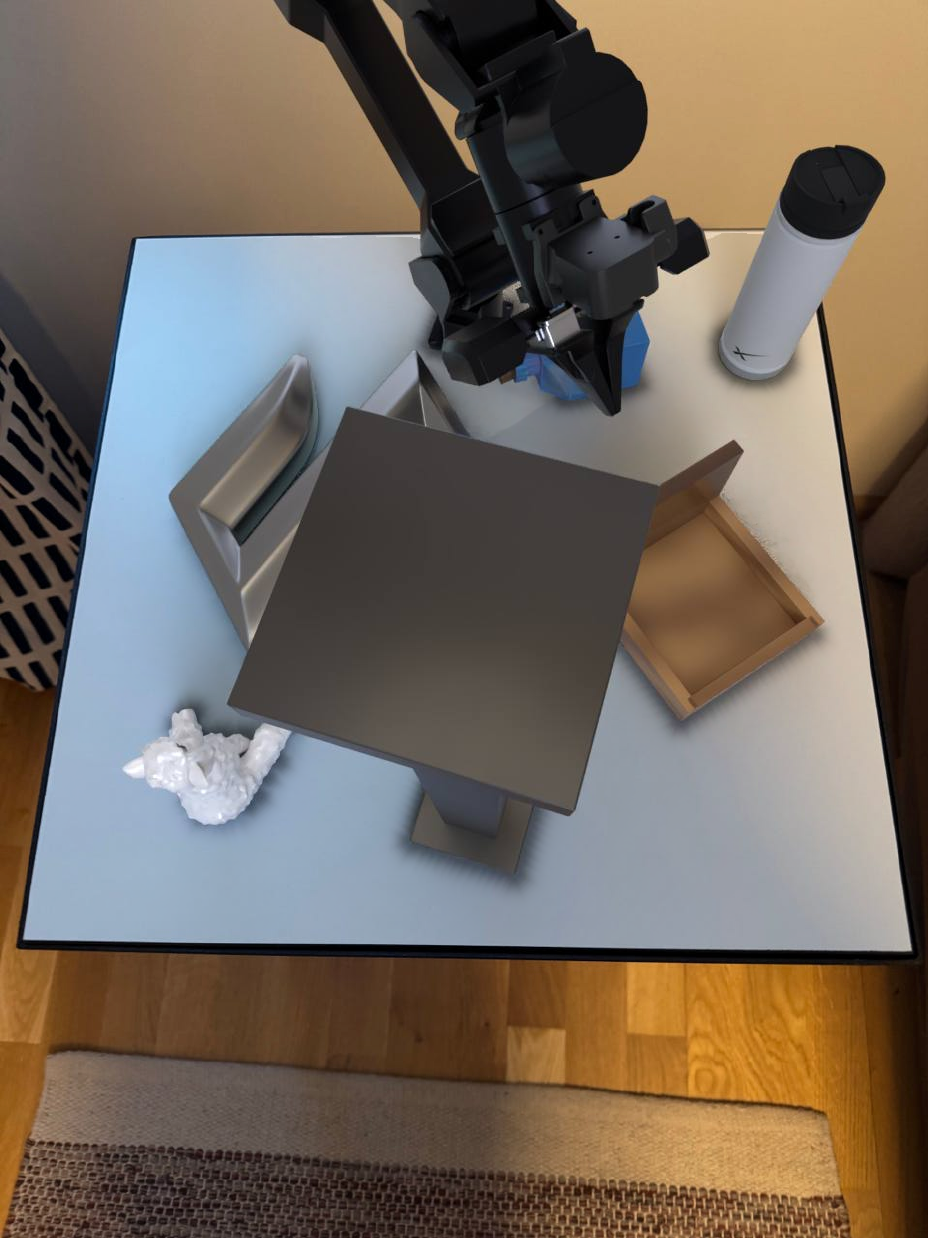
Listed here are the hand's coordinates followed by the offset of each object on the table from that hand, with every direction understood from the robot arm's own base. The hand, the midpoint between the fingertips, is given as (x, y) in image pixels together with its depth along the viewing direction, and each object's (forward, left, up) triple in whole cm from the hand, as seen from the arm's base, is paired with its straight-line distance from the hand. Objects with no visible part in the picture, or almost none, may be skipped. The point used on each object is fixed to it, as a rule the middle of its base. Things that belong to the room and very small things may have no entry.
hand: (613, 413), depth 61 cm
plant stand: (+29, -2, -11) cm, 31 cm away
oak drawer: (+8, +10, -11) cm, 17 cm away
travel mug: (-17, +10, -11) cm, 23 cm away
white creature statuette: (+32, -21, -11) cm, 39 cm away
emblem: (+9, -20, -11) cm, 24 cm away
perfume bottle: (-13, 0, -8) cm, 15 cm away
